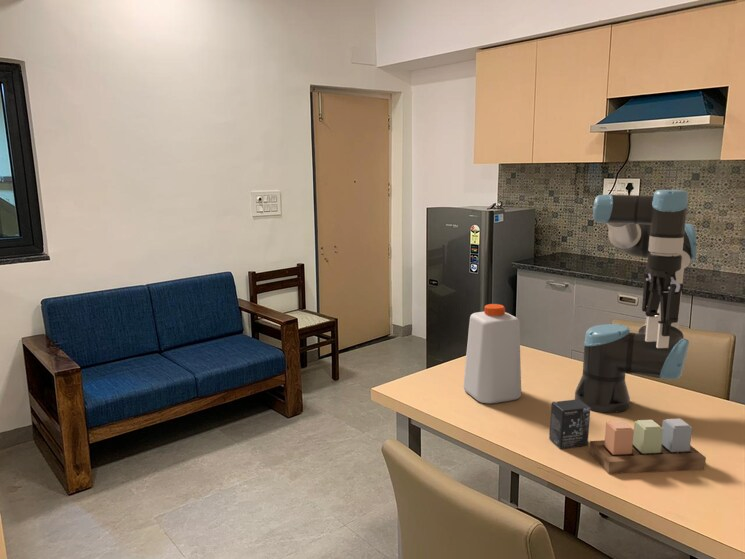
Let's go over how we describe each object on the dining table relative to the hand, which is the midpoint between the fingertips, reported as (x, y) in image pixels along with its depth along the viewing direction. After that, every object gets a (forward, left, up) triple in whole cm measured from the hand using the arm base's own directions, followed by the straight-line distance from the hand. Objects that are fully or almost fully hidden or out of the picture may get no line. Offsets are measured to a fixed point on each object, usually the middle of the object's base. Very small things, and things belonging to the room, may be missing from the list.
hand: (656, 344), depth 146 cm
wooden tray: (+2, -15, -25) cm, 29 cm away
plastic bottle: (-45, +2, -25) cm, 51 cm away
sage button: (+2, -15, -21) cm, 26 cm away
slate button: (+8, -11, -21) cm, 25 cm away
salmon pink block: (-4, -19, -21) cm, 29 cm away
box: (-16, -16, -25) cm, 34 cm away
